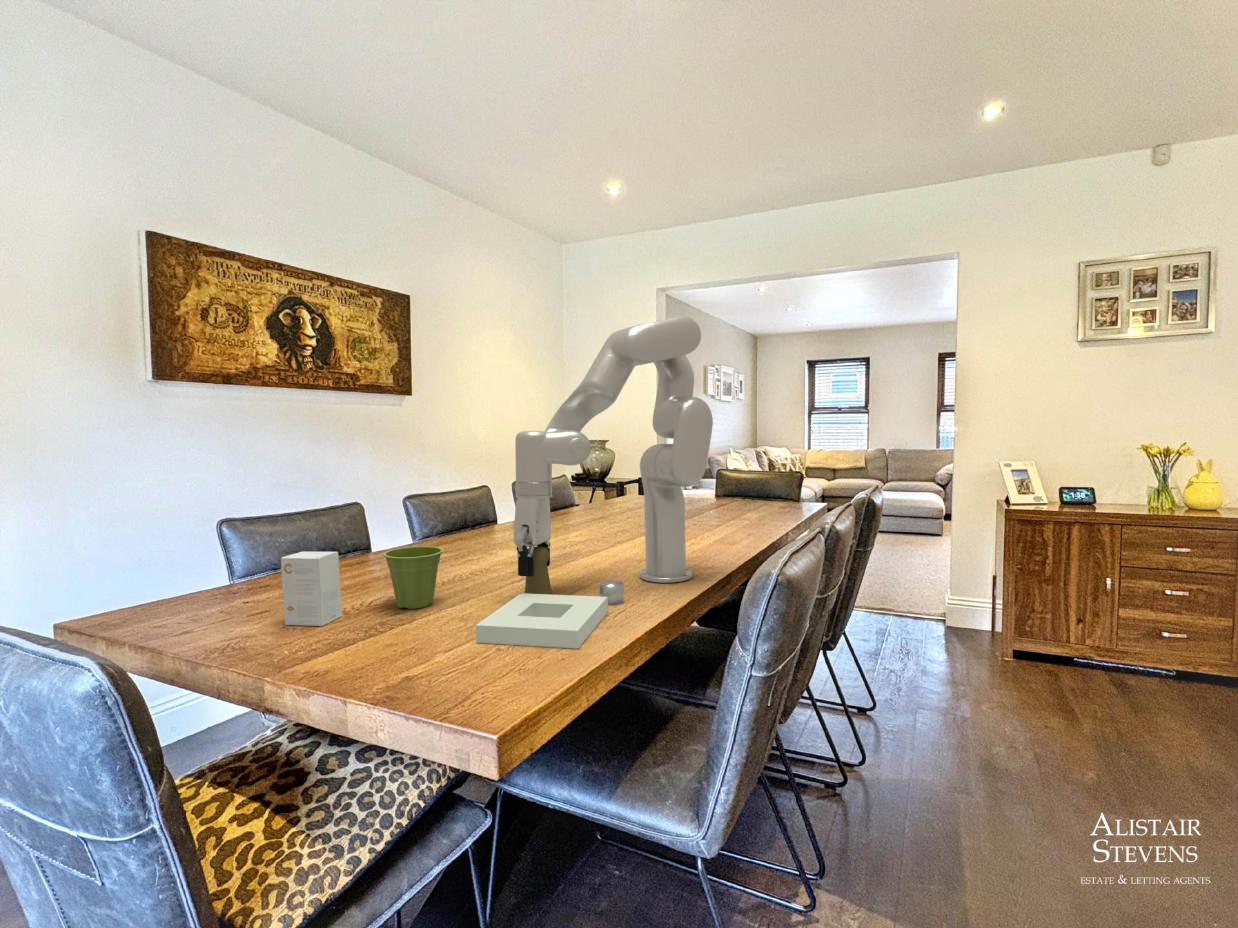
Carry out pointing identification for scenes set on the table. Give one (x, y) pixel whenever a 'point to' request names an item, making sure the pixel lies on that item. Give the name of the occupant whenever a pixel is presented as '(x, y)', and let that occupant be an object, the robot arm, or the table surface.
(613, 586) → the short metal pin
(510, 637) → the hole board
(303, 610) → the small box
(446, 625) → the table surface
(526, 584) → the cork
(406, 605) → the plant pot
